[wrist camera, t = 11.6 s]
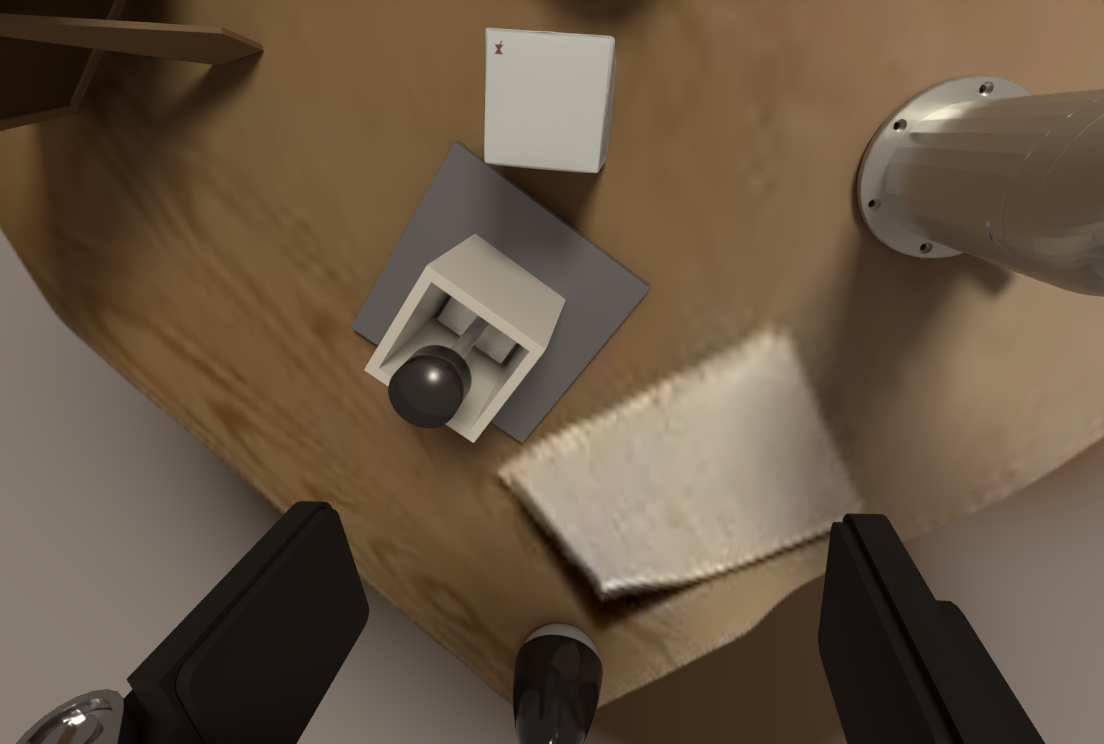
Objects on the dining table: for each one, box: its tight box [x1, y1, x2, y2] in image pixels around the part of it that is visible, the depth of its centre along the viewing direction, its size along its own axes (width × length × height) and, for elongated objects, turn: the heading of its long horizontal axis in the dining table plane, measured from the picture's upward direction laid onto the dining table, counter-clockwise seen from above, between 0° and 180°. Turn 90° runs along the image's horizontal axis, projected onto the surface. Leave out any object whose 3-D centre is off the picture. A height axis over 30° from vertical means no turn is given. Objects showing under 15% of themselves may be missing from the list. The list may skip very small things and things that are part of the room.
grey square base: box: [351, 141, 650, 443], centre depth 44 cm, size 20×20×13 cm
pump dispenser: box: [513, 623, 603, 744], centre depth 60 cm, size 10×10×15 cm
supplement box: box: [484, 28, 617, 173], centre depth 37 cm, size 7×7×13 cm
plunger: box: [388, 297, 517, 428], centre depth 41 cm, size 7×7×17 cm
